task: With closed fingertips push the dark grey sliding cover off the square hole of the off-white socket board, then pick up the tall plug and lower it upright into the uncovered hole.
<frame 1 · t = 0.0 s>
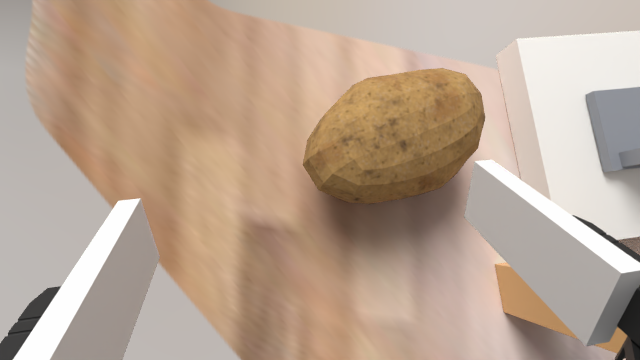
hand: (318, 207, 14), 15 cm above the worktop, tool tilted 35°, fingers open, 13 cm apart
socket board: (577, 140, 33), on the worktop
potato: (375, 151, 31), on the worktop
plug: (520, 284, 30), on the worktop
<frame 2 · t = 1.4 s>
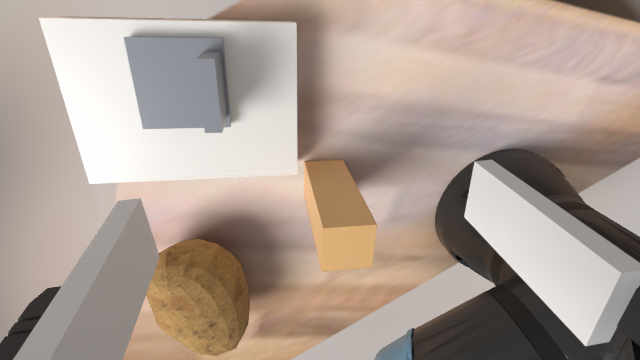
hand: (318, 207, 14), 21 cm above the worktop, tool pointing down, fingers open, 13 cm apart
socket board: (193, 98, 31), on the worktop
potato: (208, 268, 40), on the worktop
plug: (323, 178, 37), on the worktop
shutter: (176, 90, 25), point 6 cm above the worktop, slide at 0.0 cm
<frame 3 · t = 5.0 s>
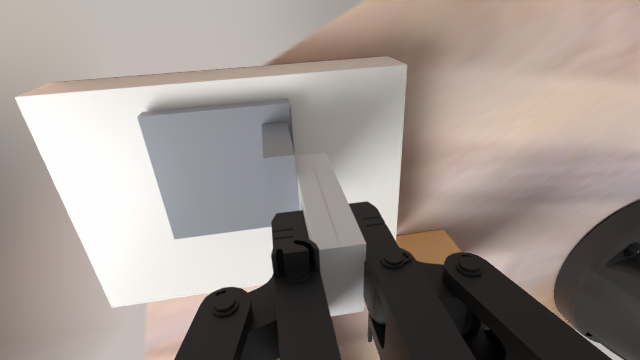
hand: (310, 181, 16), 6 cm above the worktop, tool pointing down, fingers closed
socket board: (245, 174, 22), on the worktop
plug: (416, 253, 27), on the worktop
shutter: (225, 191, 16), point 6 cm above the worktop, slide at 0.5 cm, touching gripper
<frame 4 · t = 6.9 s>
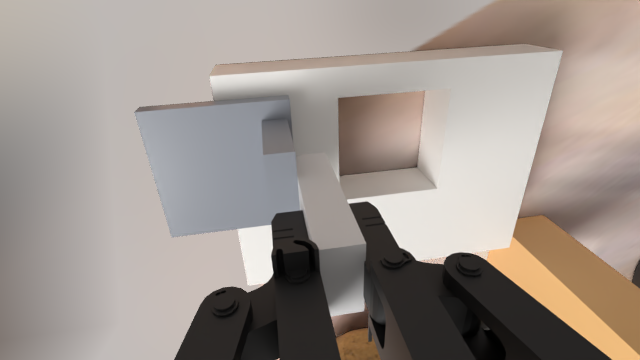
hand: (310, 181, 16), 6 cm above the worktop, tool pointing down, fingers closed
socket board: (374, 158, 23), on the worktop
potato: (356, 351, 32), on the worktop
plug: (514, 238, 28), on the worktop
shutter: (224, 188, 16), point 6 cm above the worktop, slide at 8.9 cm, touching gripper
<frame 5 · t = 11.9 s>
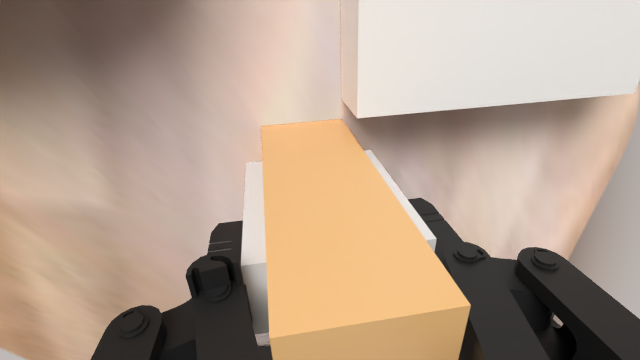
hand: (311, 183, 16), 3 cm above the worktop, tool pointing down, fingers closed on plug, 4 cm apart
plug: (304, 159, 18), on the worktop, touching gripper
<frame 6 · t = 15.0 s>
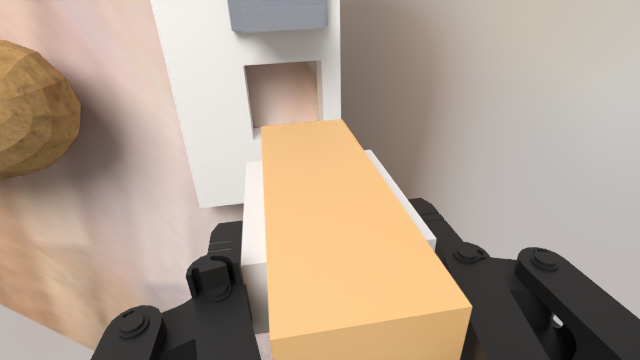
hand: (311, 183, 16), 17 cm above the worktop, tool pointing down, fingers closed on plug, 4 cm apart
socket board: (260, 94, 31), on the worktop
potato: (12, 100, 28), on the worktop
plug: (304, 159, 18), point 15 cm above the worktop, touching gripper
when the fingers open (4 cm above the worktop, at t = 18.0 s): plug drops 2 cm, resting in socket board.
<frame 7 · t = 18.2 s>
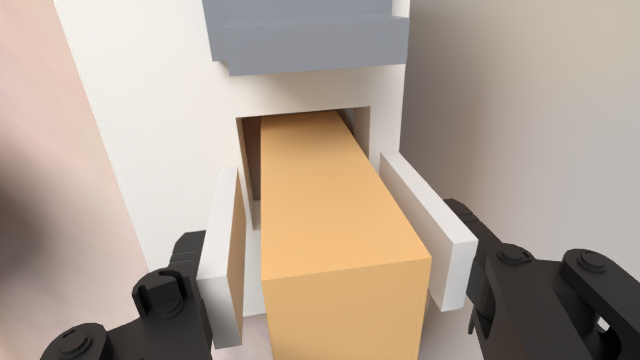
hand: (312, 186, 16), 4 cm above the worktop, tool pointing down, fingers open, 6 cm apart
socket board: (264, 152, 19), on the worktop
plug: (301, 148, 19), resting in socket board
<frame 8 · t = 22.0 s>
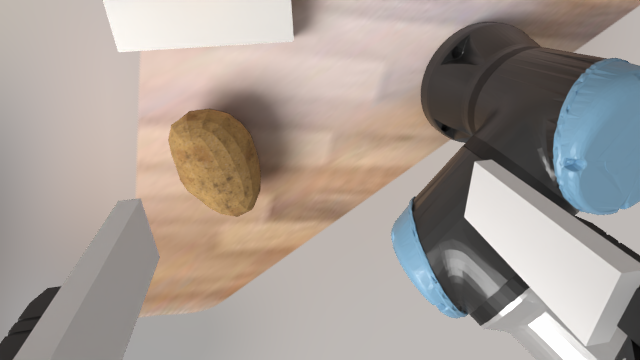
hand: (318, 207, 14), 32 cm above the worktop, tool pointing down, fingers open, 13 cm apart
potato: (222, 149, 46), on the worktop
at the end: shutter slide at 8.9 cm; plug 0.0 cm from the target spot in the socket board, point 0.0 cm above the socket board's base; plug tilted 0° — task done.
